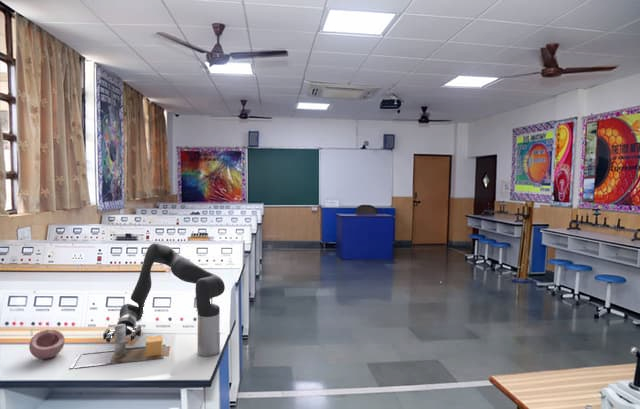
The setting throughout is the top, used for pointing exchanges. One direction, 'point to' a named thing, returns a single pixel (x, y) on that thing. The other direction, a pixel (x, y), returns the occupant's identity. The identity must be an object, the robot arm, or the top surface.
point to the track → (110, 362)
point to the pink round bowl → (46, 344)
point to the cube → (154, 345)
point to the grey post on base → (125, 355)
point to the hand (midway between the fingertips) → (120, 339)
